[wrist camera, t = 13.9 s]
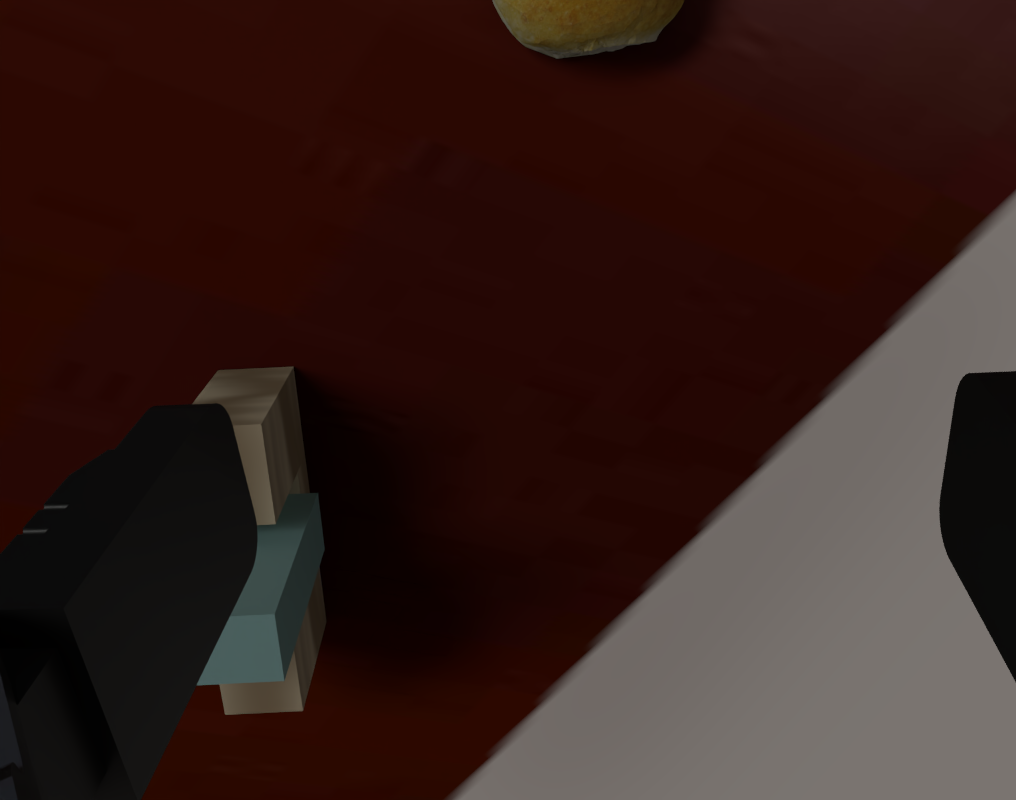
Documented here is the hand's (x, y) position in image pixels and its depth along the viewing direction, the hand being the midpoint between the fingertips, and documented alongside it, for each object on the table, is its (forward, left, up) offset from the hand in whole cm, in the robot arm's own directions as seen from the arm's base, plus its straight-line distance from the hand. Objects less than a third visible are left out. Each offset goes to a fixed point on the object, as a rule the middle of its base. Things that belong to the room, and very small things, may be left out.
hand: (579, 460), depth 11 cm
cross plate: (+12, +17, -31) cm, 37 cm away
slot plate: (+12, +17, -33) cm, 39 cm away
